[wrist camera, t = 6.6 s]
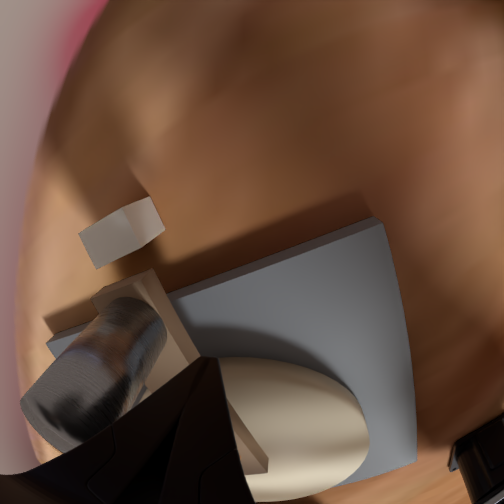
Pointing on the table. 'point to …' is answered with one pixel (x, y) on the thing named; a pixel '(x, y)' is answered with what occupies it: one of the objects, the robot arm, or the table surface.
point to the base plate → (297, 318)
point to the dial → (236, 387)
